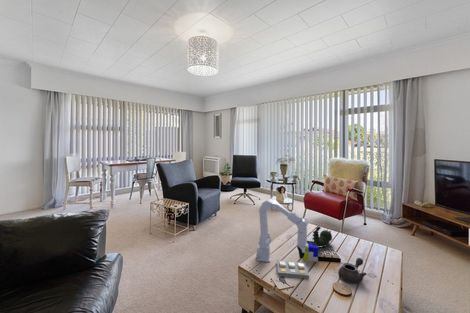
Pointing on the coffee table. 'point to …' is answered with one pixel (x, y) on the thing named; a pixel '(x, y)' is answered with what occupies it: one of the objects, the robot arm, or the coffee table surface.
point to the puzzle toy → (311, 251)
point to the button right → (300, 265)
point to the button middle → (291, 265)
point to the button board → (292, 270)
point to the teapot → (351, 272)
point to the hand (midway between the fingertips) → (301, 257)
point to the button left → (282, 264)
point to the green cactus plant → (322, 237)
